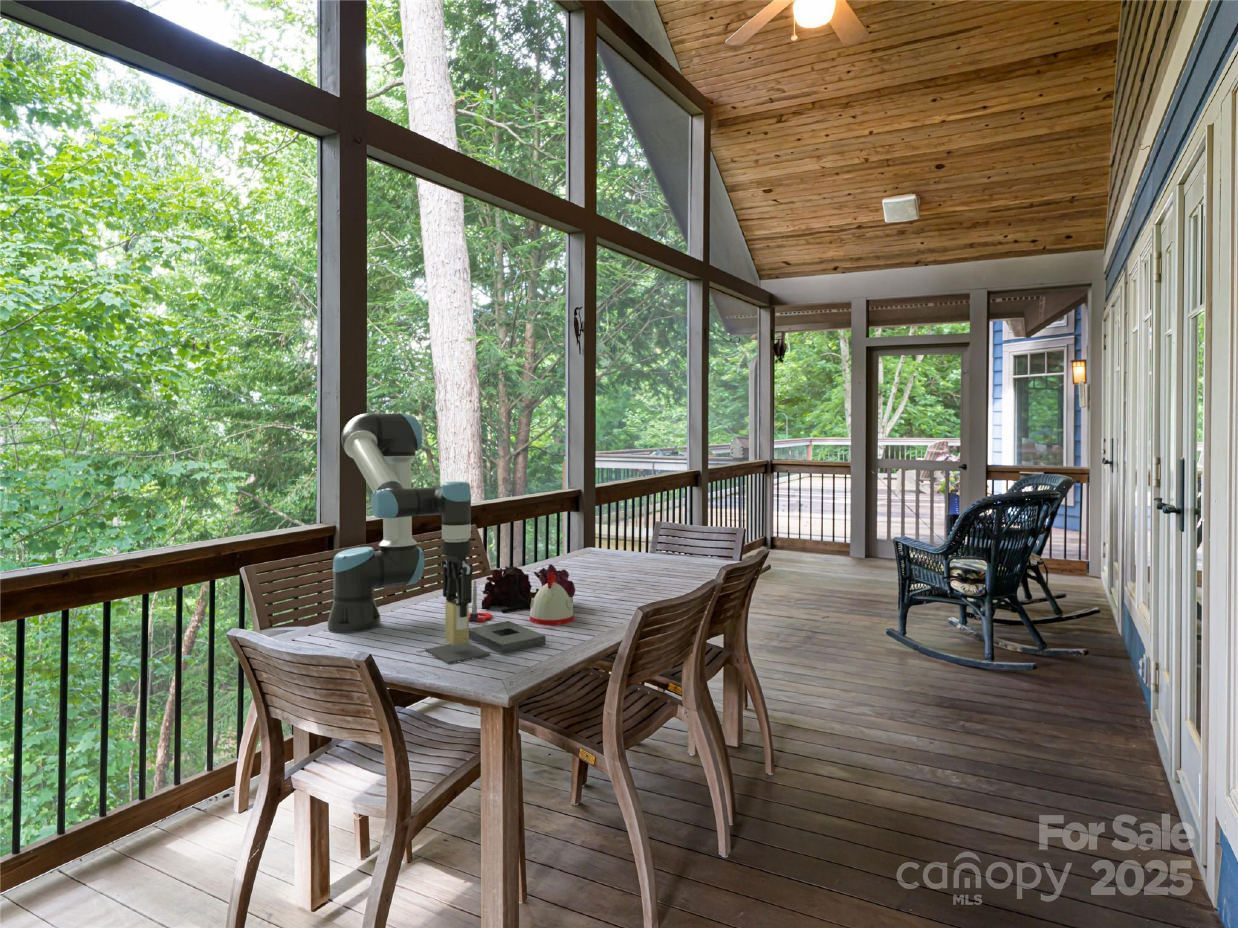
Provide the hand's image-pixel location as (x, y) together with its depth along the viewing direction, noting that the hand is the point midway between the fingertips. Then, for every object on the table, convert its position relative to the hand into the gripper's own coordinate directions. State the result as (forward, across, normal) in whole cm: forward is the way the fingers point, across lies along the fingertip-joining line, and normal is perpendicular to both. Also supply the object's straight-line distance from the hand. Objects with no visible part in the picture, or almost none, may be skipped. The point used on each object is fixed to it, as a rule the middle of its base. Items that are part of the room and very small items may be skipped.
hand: (457, 626), depth 193 cm
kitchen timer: (+7, +14, -40) cm, 43 cm away
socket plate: (+7, +2, -16) cm, 18 cm away
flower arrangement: (+8, +32, -44) cm, 55 cm away
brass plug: (+4, 0, 0) cm, 4 cm away
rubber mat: (+7, 0, 0) cm, 7 cm away
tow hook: (+7, +29, -22) cm, 37 cm away
